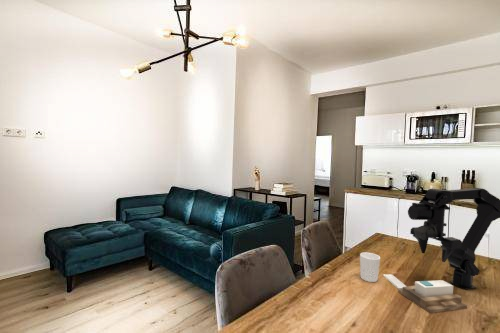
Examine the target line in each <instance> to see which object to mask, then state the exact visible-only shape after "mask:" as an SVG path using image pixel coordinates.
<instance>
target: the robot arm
mask: <svg viewBox="0 0 500 333" xmlns="http://www.w3.org/2000/svg"><path fill="white" fill-rule="evenodd" d="M460 200H461V201H462V200H473V202H474V203H475V204H476V205H477V206H476V208H475V209H476V210H475V211H476V217H475V219H474V221H473V223H472V224H471V226H470V228H469V229H468V231H467V233H466V235H464V238H463V239H462V240H461V239H460V238H459V239H458V238H455V237H452V236H451V237H450V236H449V237H446V233H445V232H444V229H445V228H444V227H447V223H445V214H446V210H447V211H450V210H451V207H449V206H448V205H447V204H450V203H452V202H454V201H460ZM407 214H408V217H409V219H411V220H413V221H424V222H423V225H421V226H417V227H415V226H414V227H412V228H410V235H412V237H413V238H415V239H416V240H417V242H418V245H419V248H420V252H421V253H422V254H425V253H426V251H427V247H428V243H429V239H432V240H433V239H434V240H436V241H439V242H440V245H439V246H440V248H441V251H442V252H441V261H442V263H445V262H446V261H447V262H448V263H449V267H450V268H452V269H453V274H452V276H453V277H452V280H449V284H451V285H452V284H453V286H456V287H459V288H460V289H463V290H472V289H477V286H475V285H473V279H474V277H476V276H479V274H480V272H481V270H480V269H479V268H478V266H477V265H475V262H476V253H475V252H476V250H477V248H478V247H479V245H480V243H481V242H482V240H483V237H484V236H485V234H486V232H487V231H488V229H489V227H490V225H491V224H492V223H493V222H494V221H496V220H497V219H500V198H499V197H497V196H495V195H493V194H492V193H490V192H489V191H488V190H487V189H485V188H481V187H472V188H463V189H462V188H461V189H449V190H447V189H440V188H428V189H427V191H426V192H425V193H424V195H423V197H422V198H421V199H420V201H419V202H412V203H411V205H410V206H409V208H408V209H407Z"/></svg>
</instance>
